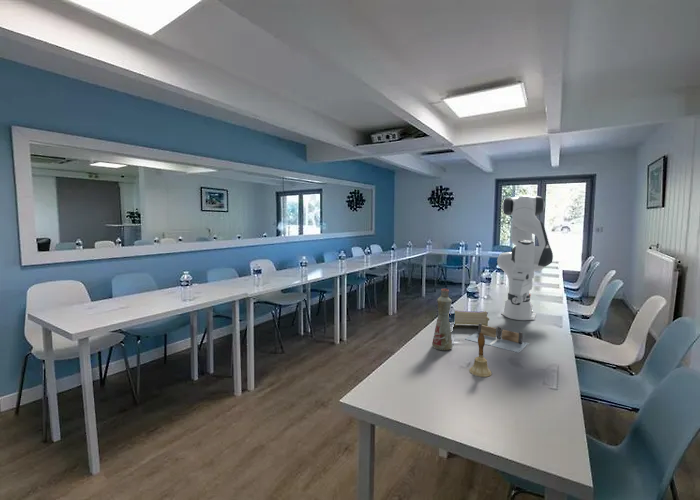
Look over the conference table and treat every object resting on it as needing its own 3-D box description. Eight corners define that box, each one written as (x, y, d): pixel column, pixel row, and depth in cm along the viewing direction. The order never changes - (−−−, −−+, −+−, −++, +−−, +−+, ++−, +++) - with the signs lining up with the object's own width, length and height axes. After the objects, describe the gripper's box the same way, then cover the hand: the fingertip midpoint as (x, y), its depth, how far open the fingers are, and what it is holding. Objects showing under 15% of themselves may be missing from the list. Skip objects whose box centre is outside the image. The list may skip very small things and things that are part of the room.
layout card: (477, 331, 188) (477, 331, 188) (528, 343, 172) (528, 343, 172) (465, 339, 177) (465, 338, 177) (518, 352, 161) (518, 352, 161)
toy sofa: (484, 325, 200) (485, 307, 199) (488, 330, 192) (489, 311, 191) (445, 324, 202) (446, 306, 201) (449, 329, 193) (449, 310, 192)
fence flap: (501, 339, 176) (501, 328, 176) (502, 338, 178) (502, 328, 177) (521, 344, 170) (522, 333, 170) (522, 343, 172) (523, 332, 171)
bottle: (453, 352, 161) (455, 290, 158) (432, 350, 162) (434, 289, 159) (451, 345, 169) (454, 286, 166) (431, 343, 171) (433, 285, 168)
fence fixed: (478, 333, 186) (479, 322, 185) (501, 338, 178) (501, 327, 178) (477, 334, 184) (478, 323, 184) (499, 339, 177) (500, 327, 176)
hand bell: (477, 378, 136) (479, 337, 134) (464, 369, 144) (466, 330, 142) (496, 375, 138) (498, 335, 136) (482, 366, 146) (484, 328, 144)
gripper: (523, 270, 184) (521, 296, 185) (509, 275, 168) (508, 304, 170) (536, 271, 179) (534, 299, 181) (524, 277, 164) (522, 306, 166)
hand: (521, 301), depth 175 cm, fingers open, 4 cm apart
